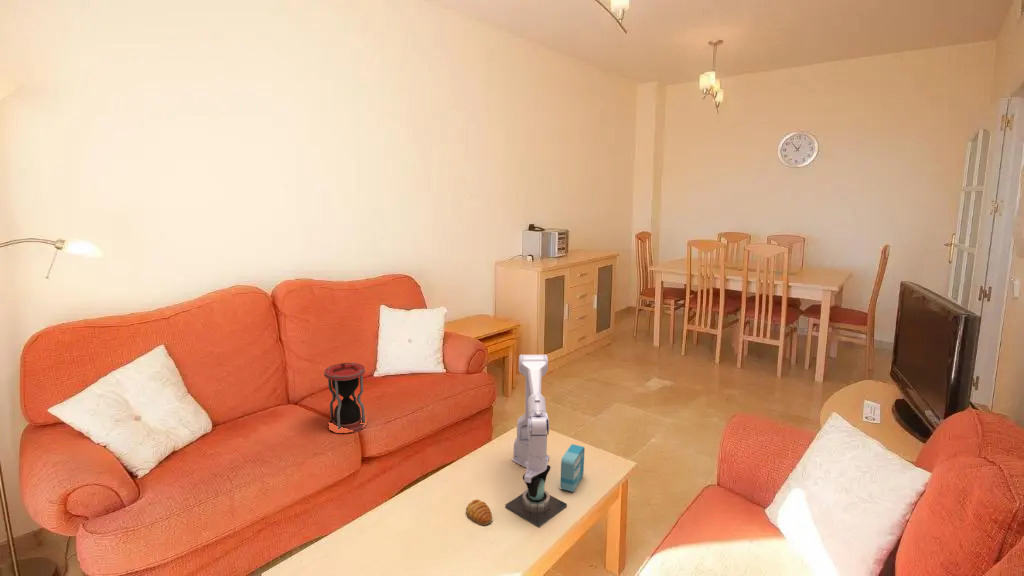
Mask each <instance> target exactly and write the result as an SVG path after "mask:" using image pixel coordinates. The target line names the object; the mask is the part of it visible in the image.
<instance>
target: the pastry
mask: <svg viewBox="0 0 1024 576" xmlns="http://www.w3.org/2000/svg"><path fill="white" fill-rule="evenodd" d="M465 511H466V514H467V516H468V517H469V519H471V520H472V521H473V522H475V523H476V524H479V525H482V526H486V525H488V524H490V523H491V522H492V520H493V514H492V512H491V509H490V507H489V506H488V505H487V503H486V502H485V501H481V500H480V499H478V498H477V499H474V500H472V501H471V502H469V503H468V505H467V506H466V508H465Z"/></svg>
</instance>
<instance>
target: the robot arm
mask: <svg viewBox="0 0 1024 576" xmlns="http://www.w3.org/2000/svg"><path fill="white" fill-rule="evenodd" d="M548 370H549V358H548V355H547V354H546V353H545V354H522V353H520V355H519V356H518V373H520V374H521V376H524V377H525V389H524V390H525V392H524V396H525V397H524V398H525V399H524V401H525V402H524V414H522V415H521V416H520V417H518V418H517V423H516V438H515V439H514V442H513V458H512V459H511V461H512V462H514V463H515V464H518V465H520V466H522V467H524V468H526V471H525V473H524V474H523V475H522V480H523V482H524V483H525V485H526V488H527V490H528V492H529V496H532V497H536V495H537V490H538V485H539V483H540V481H541V479H539V478H536V477H540V478H542V479H543V480H544V485H545V482H546V480H547V477H548V474H549V472H550V470H551V465H549V464H548V462H549V461H550V455H548V454H547V451H548V449H547V448H548V436H549V433H550V420H549V416H548V413H547V405H546V397H545V396H543V394H542V378H543V377H544V376H545V375H547V374H546V373H547V372H548Z"/></svg>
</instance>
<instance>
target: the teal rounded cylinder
mask: <svg viewBox="0 0 1024 576" xmlns="http://www.w3.org/2000/svg"><path fill="white" fill-rule="evenodd" d="M536 478H539V479H541V481H540V483H539V485H538V490H537V495H536V497H532V496H529V492H528V496H529V498H530V499H532V500H541V499H543V498H544V490H545V484H544V480H543V479H542V478H540V477H536Z"/></svg>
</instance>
